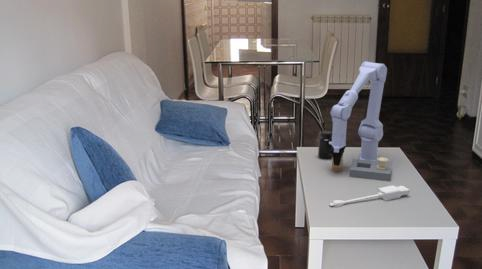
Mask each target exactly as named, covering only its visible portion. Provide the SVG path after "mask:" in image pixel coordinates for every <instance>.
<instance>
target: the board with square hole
mask: <svg viewBox="0 0 482 269" xmlns="http://www.w3.org/2000/svg"><path fill="white" fill-rule="evenodd" d="M391 171H392V162H389V158H387V157H382V156H378V158H377V161H370V160H360V159H359V158H353V159H352V162H351V166H350V169H349V177H350V178H351V177H352V178H361V179H369V180H376V181H377V180H378V181H386V182H387V181H388V182H391Z"/></svg>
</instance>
